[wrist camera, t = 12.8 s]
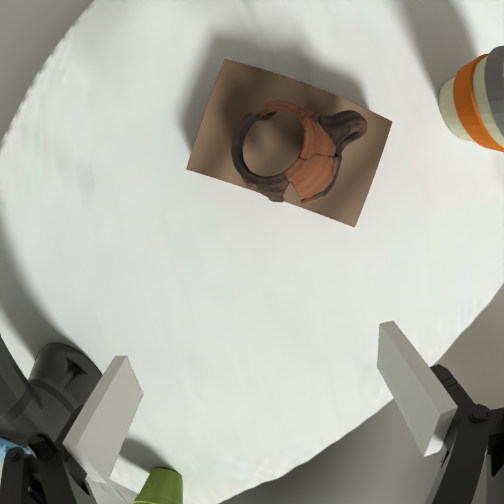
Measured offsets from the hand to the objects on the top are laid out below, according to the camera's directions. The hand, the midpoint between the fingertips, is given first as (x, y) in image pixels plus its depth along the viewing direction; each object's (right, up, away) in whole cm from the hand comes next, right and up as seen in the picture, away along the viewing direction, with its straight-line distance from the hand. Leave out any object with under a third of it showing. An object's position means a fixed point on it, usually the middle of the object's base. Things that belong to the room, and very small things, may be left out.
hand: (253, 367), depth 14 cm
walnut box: (+4, +18, +19) cm, 27 cm away
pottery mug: (+4, +15, +14) cm, 21 cm away
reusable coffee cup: (+29, +25, +16) cm, 41 cm away
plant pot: (-19, -44, +39) cm, 62 cm away
